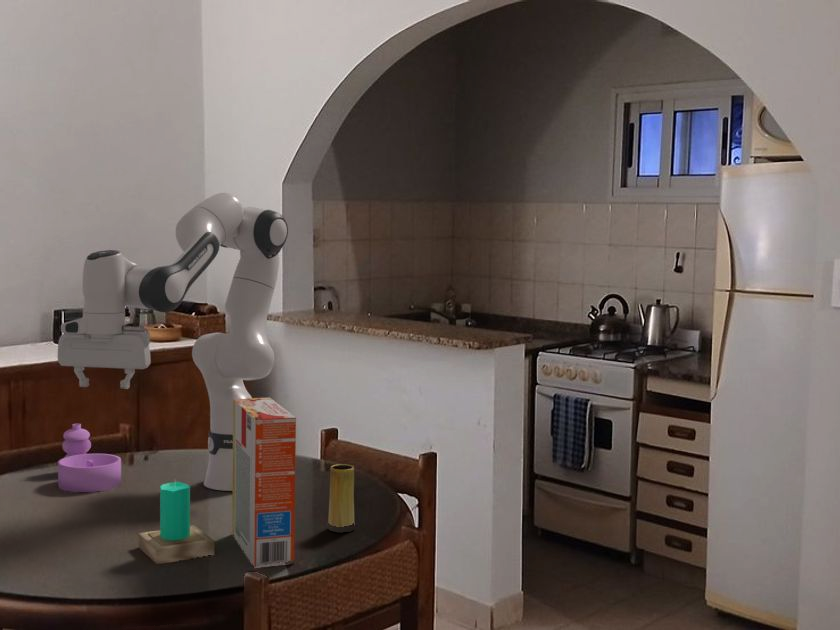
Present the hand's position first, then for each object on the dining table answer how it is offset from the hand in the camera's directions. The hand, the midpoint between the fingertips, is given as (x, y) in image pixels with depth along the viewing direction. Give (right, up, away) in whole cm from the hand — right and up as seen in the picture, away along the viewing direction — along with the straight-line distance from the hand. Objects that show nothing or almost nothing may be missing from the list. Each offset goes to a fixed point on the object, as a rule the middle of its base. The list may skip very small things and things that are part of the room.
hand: (104, 387), depth 223 cm
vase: (+52, -32, +4) cm, 61 cm away
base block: (+19, -33, -13) cm, 40 cm away
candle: (+19, -30, -13) cm, 38 cm away
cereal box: (+36, -33, -10) cm, 50 cm away
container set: (-18, -27, +41) cm, 52 cm away
